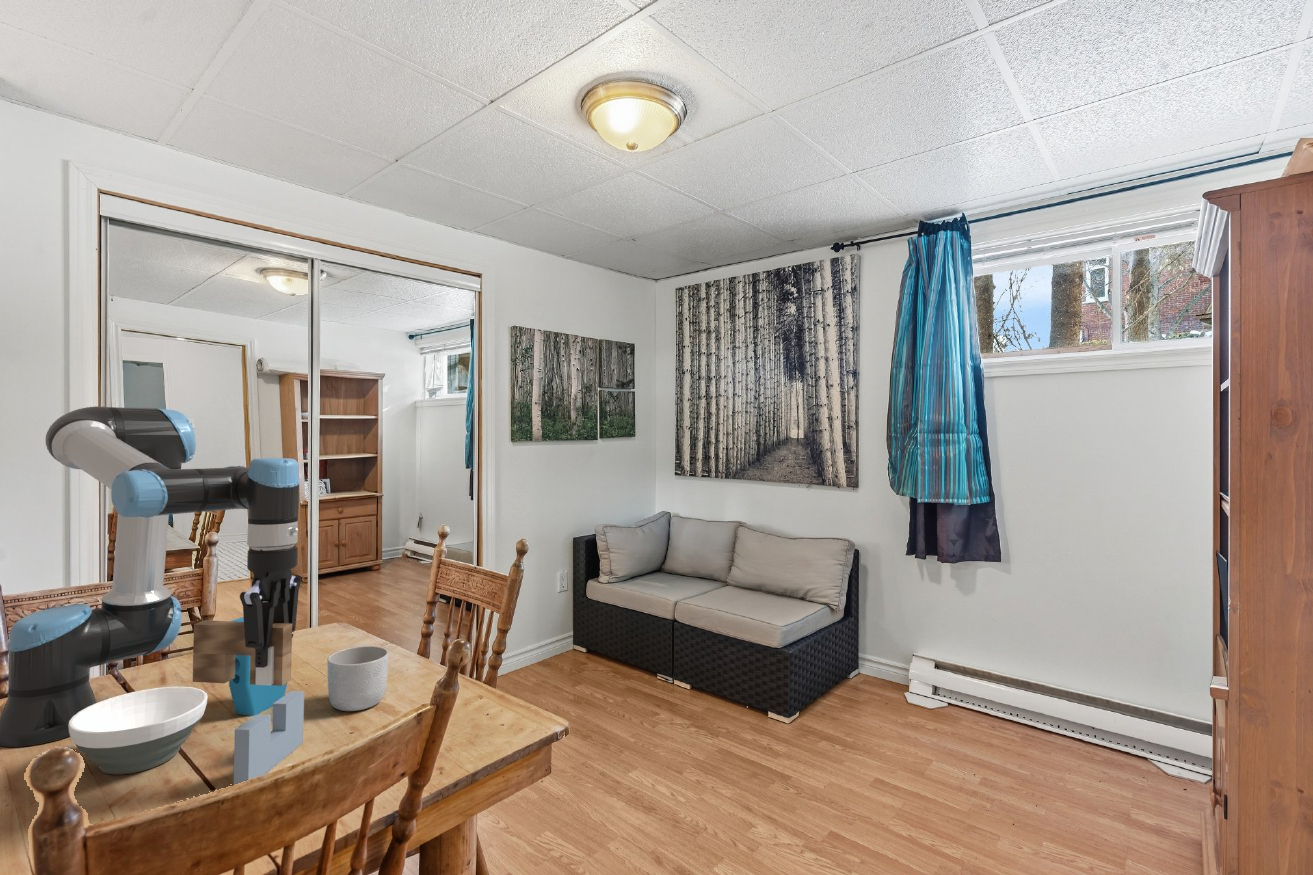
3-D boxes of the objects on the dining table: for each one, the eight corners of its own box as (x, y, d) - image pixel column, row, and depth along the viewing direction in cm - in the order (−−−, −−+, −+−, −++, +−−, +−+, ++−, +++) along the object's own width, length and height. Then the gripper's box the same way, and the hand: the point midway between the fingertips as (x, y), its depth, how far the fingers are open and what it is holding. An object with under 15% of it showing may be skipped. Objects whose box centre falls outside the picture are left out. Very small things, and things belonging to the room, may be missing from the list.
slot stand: (248, 788, 106) (249, 729, 106) (233, 788, 106) (234, 729, 106) (303, 742, 122) (304, 691, 122) (290, 742, 122) (291, 690, 122)
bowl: (41, 774, 109) (42, 719, 109) (163, 726, 127) (164, 679, 127) (111, 800, 102) (112, 742, 102) (230, 746, 120) (231, 696, 120)
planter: (317, 703, 140) (318, 654, 140) (373, 687, 149) (374, 641, 149) (339, 721, 132) (340, 669, 132) (397, 703, 141) (398, 655, 141)
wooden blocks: (192, 681, 110) (193, 624, 110) (203, 676, 112) (204, 620, 112) (281, 685, 109) (283, 627, 109) (291, 680, 111) (292, 623, 111)
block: (244, 719, 131) (247, 624, 131) (226, 716, 133) (228, 621, 132) (292, 697, 143) (293, 609, 143) (274, 694, 144) (276, 606, 144)
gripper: (264, 555, 102) (261, 699, 102) (319, 539, 118) (317, 665, 118) (219, 553, 103) (216, 698, 103) (280, 538, 118) (278, 663, 118)
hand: (270, 680), depth 110 cm, fingers closed on wooden blocks, 3 cm apart
